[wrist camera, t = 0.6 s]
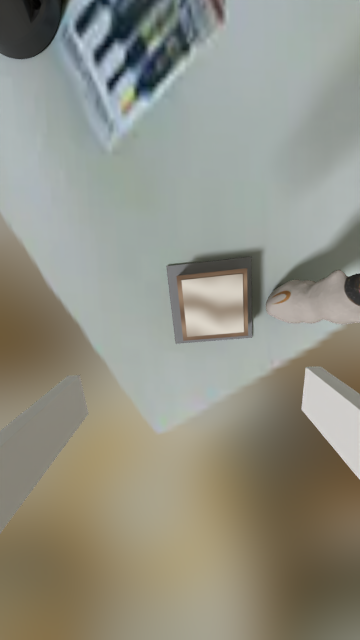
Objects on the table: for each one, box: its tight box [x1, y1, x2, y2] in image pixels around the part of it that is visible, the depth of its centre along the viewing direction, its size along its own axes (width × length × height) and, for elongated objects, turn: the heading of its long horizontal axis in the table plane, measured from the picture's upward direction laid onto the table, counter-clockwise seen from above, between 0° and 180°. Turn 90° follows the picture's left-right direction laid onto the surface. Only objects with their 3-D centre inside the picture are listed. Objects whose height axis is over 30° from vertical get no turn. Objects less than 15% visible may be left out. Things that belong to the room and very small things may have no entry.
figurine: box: [266, 270, 360, 324], centre depth 28 cm, size 9×10×15 cm
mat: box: [166, 257, 252, 344], centre depth 37 cm, size 16×16×1 cm
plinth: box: [176, 268, 248, 341], centre depth 34 cm, size 12×12×4 cm
